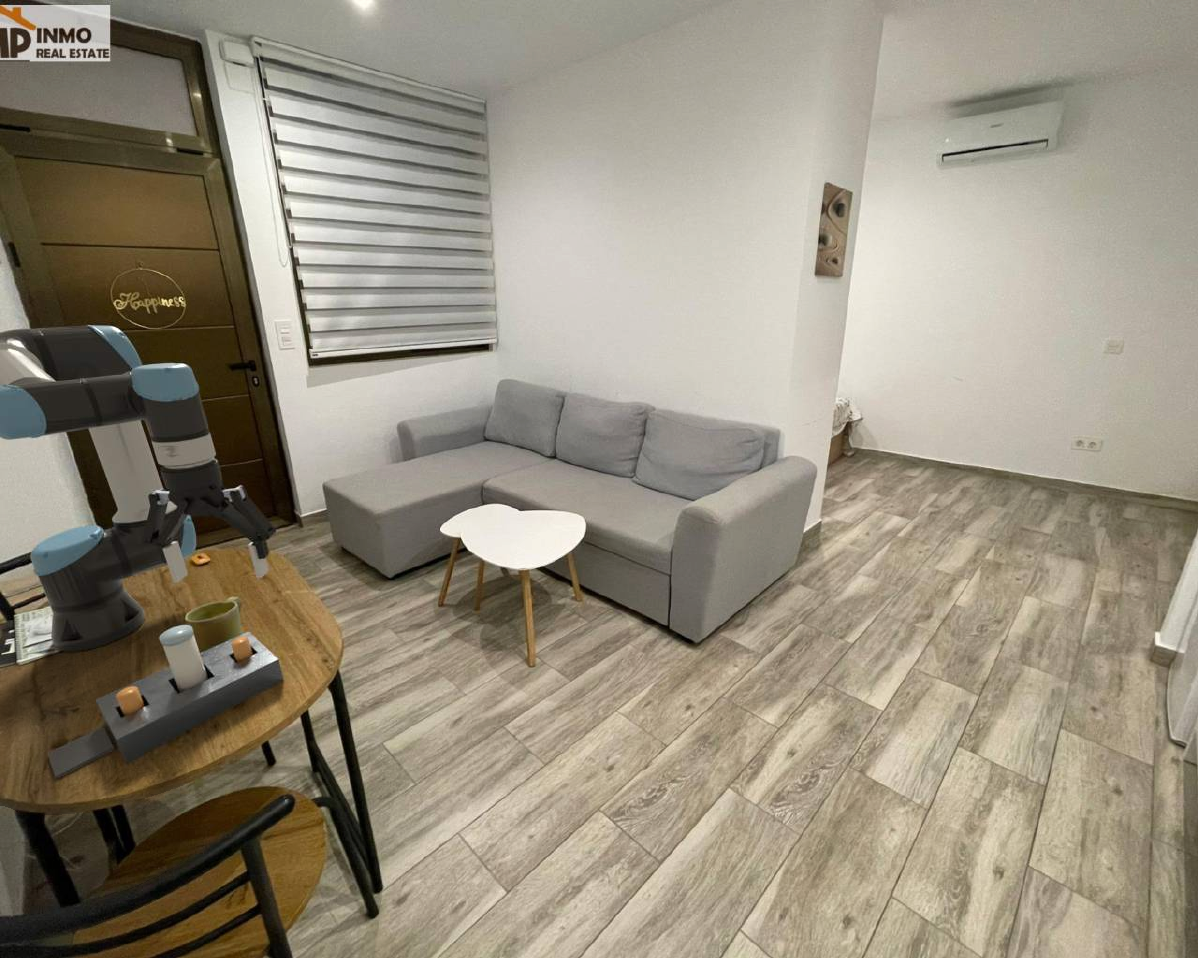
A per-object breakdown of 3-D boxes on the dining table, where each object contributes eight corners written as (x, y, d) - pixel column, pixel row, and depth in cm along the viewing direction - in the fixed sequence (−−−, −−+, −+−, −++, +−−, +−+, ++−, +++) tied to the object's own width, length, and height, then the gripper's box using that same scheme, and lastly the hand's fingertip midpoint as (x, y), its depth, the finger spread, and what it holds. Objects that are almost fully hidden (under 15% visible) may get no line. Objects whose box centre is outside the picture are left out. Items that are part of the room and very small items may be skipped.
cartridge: (180, 701, 97) (155, 634, 92) (208, 687, 100) (187, 621, 95) (188, 713, 94) (164, 644, 89) (217, 698, 98) (195, 631, 93)
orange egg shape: (236, 666, 103) (228, 641, 101) (251, 658, 105) (244, 634, 103) (241, 672, 101) (234, 647, 99) (257, 664, 103) (250, 640, 101)
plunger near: (125, 719, 90) (113, 693, 88) (145, 710, 92) (135, 683, 90) (129, 727, 88) (118, 700, 86) (150, 717, 91) (139, 691, 89)
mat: (48, 755, 86) (47, 753, 86) (104, 729, 91) (103, 726, 91) (56, 779, 82) (55, 776, 82) (114, 749, 87) (113, 746, 87)
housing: (105, 721, 93) (95, 699, 91) (254, 651, 110) (248, 631, 109) (126, 763, 84) (116, 739, 83) (283, 679, 102) (278, 659, 100)
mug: (218, 656, 106) (202, 610, 105) (183, 663, 109) (167, 617, 108) (270, 630, 118) (256, 588, 117) (237, 637, 120) (223, 596, 120)
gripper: (86, 472, 80) (130, 591, 87) (258, 466, 82) (286, 583, 90) (123, 457, 87) (160, 568, 94) (280, 452, 89) (305, 561, 97)
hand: (222, 576), depth 92 cm, fingers open, 13 cm apart
